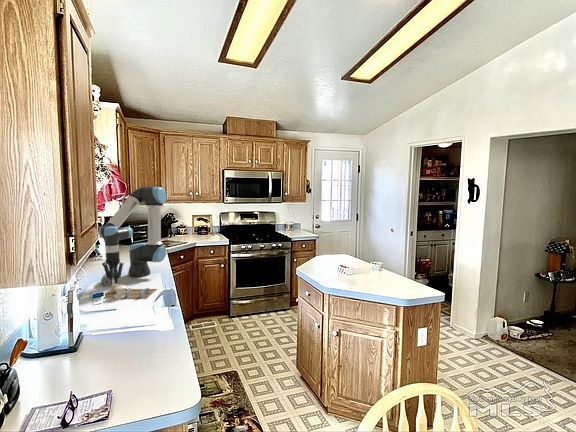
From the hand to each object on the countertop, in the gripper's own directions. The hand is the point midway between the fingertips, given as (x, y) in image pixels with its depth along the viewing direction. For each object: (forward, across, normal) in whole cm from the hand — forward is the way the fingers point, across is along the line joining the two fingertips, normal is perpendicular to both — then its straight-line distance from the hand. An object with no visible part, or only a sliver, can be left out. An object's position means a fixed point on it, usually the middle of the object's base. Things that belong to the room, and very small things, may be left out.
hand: (114, 288), depth 218 cm
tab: (+2, +3, 0) cm, 3 cm away
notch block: (+2, +17, -7) cm, 18 cm away
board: (+3, +10, -4) cm, 11 cm away
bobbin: (+2, +8, -9) cm, 13 cm away
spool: (+3, -12, +17) cm, 21 cm away
